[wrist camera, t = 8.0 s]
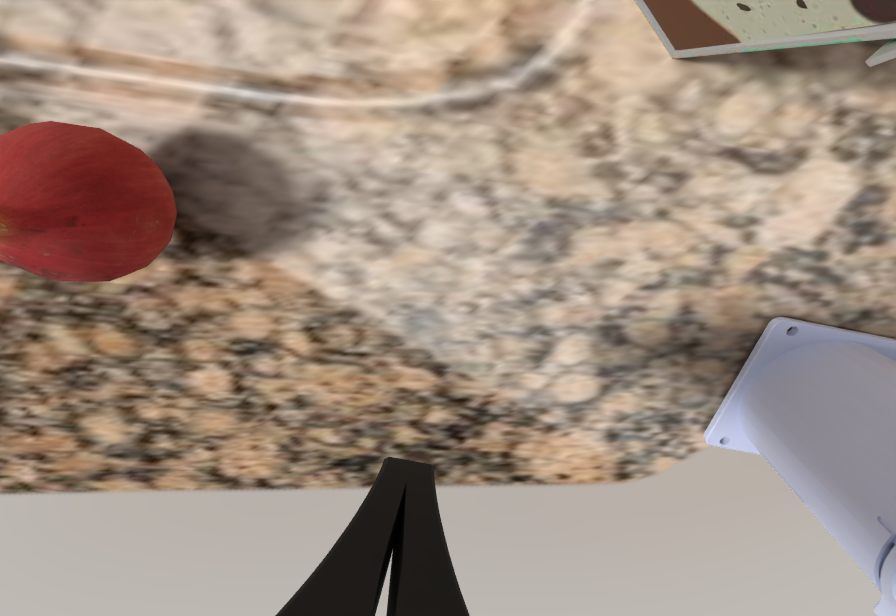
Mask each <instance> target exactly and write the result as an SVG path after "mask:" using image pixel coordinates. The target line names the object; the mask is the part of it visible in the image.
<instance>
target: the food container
mask: <svg viewBox="0 0 896 616" xmlns="http://www.w3.org/2000/svg"><path fill="white" fill-rule="evenodd" d="M635 2H636V3H637V5H638V6H639V8H640V10H641V11H642V13H643V14H644V16H645V17H646V19H647V20H648V22H649V23H650V25H651V26H652V28H653V29H654V31H655V32H656V34H657V36H658V37H659V39H660V40H661V42H662V43H663V45H664V46H665V48H666V49H667V51H668V52H669V54H670V55H671V57H672V59H675V58H686V57H697V56H708V55H718V54H729V53H740V52H751V51H762V50H773V49H783V48H794V47H805V46H816V45H827V44H837V43H848V42H859V41H870V40H881V39H890V40H889V41H888V42H887V43H886V44H884V45H883V46H882V47H881V48H880V49H879V50H877V51H876V52H875V53H874V54H873V55H872V56H871V57H869V58H868V59H867V60H866V61H865V62H866V63H867V65H868V66H869V67H871V66H874V65H877V64H880V63H883V62H885V61H888V60H891V59H894V58H896V0H635Z"/></svg>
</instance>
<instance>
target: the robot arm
mask: <svg viewBox="0 0 896 616" xmlns="http://www.w3.org/2000/svg"><path fill="white" fill-rule="evenodd" d="M790 327H792V329H791V330H790V331H788V332H787V330H788V329H789V328H790ZM703 437H704V440H705V441H706V442H707V443H708V444H709V445H711V446H716V447H722V448H727V449H733V450H738V451H743V452H749V453H754V454H760V455H762V456H763V457H764V458H765V459H766V460H767V461H768V463H769V464H770V465H771V466H772V467H773V468H774V470H775V471H776V472H777V473H778V474H779V475H780V476H781V478H783V480H784V481H785V482H786V483H787V484H788V486H789V487H790V488H791V489H792V490H793V491H794V492H795V494H796V495H797V496H798V497H799V498H800V499H801V500H802V502H803V503H804V504H805V505H806V506H807V508H808V509H809V510H810V511H811V512H812V513H813V514H814V515H815V517H816V518H817V519H818V520H819V521H820V522H821V524H822V525H823V526H824V527H825V528H826V529H827V531H828V532H829V533H830V534H831V535H832V536H833V537H834V539H835V540H836V541H837V542H838V543H839V544H840V546H841V547H842V548H843V549H844V550H845V551H846V552H847V554H848V555H849V556H850V557H851V558H852V559H853V561H854V562H855V563H856V564H857V565H858V566H859V567H860V569H861V570H862V571H863V572H864V573H865V574H866V575H867V577H868V578H869V579H870V580H871V581H872V582H873V583H874V585H875V586H876V587H877V588H878V589H879V590H880V592H881V593H882V597H881V599H880V601H879V603H878V604H877V605H876V606H875V607H874V609H873V611H874V612H875V614H876V615H877V616H896V339H892V338H887V337H882V336H877V335H872V334H867V333H862V332H856V331H851V330H846V329H841V328H836V327H831V326H826V325H821V324H816V323H811V322H806V321H801V320H796V319H791V318H786V317H777V318H774V319H773V320H771V321H770V322H769V324H768V325H767V327H766V328H765V330H764V332H763V334H762V335H761V337H760V339H759V340H758V342H757V344H756V346H755V347H754V349H753V351H752V352H751V354H750V356H749V357H748V359H747V361H746V363H745V364H744V366H743V368H742V369H741V371H740V373H739V375H738V376H737V378H736V380H735V381H734V383H733V385H732V387H731V388H730V390H729V392H728V393H727V395H726V397H725V398H724V400H723V402H722V404H721V405H720V407H719V409H718V410H717V412H716V414H715V416H714V417H713V419H712V421H711V422H710V424H709V426H708V428H707V429H706V431H705V433H704V435H703ZM724 437H725V438H724ZM722 438H724V439H722ZM392 550H393V554H392ZM391 554H392V564H391V575H390V585H389V595H388V606H387V616H469V613H468V610H467V607H466V605H465V602H464V599H463V596H462V594H461V591H460V588H459V585H458V582H457V578H456V575H455V572H454V569H453V565H452V562H451V558H450V555H449V552H448V548H447V544H446V540H445V536H444V532H443V527H442V523H441V518H440V514H439V508H438V502H437V496H436V489H435V479H434V467H433V466H432V465H431V464H426V463H420V462H415V461H409V460H404V459H398V458H392V457H388V458H386V459H384V462H383V465H382V467H381V470H380V472H379V474H378V476H377V478H376V480H375V482H374V484H373V486H372V488H371V489H370V491H369V493H368V495H367V496H366V498H365V500H364V501H363V503H362V505H361V506H360V508H359V510H358V511H357V513H356V514H355V516H354V517H353V519H352V521H351V522H350V523H349V525H348V527H347V528H346V529H345V531H344V532H343V533H342V535H341V536H340V538H339V539H338V540H337V542H336V543H335V545H334V546H333V547H332V549H331V550H330V551H329V553H328V554H327V556H326V557H325V558H324V559H323V561H322V562H321V563H320V564H319V566H318V567H317V568H316V569H315V571H314V572H313V573H312V574H311V576H310V577H309V578H308V579H307V580H306V582H305V583H304V584H303V585H302V586H301V588H300V589H299V590H298V591H297V592H296V593H295V595H294V596H293V597H292V598H291V599H290V600H289V601H288V602H287V604H286V605H285V606H284V607H283V608H282V609H281V610H280V611H279V613H278V614H277V615H276V616H375V613H376V610H377V606H378V602H379V599H380V595H381V591H382V587H383V584H384V580H385V576H386V572H387V569H388V565H389V562H390V558H391Z"/></svg>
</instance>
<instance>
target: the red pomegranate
mask: <svg viewBox="0 0 896 616" xmlns="http://www.w3.org/2000/svg"><path fill="white" fill-rule="evenodd" d="M176 216H177V210H176V204H175V199H174V194H173V191H172V189H171V187H170V185H169V183H168V182H167V180H166V178H165V176H164V175H163V173H162V171H161V169H160V168H159V167H158V166H157V165H156V164H155V163H154V162H153V161H152V160H151V159H150V158H149V157H148V156H147V155H146V154H145V153H144V152H143V151H142V150H140V149H138V148H137V147H135V146H133V145H131V144H129V143H127V142H125V141H123V140H122V139H120V138H118V137H116V136H114V135H112V134H110V133H108V132H106V131H104V130H102V129H100V128H93V127H86V126H80V125H73V124H66V123H60V122H53V121H48V122H41V123H33V124H28V125H26V126H23V127H21V128H18V129H15V130H13V131H10V132H8V133H5V134H3V135H0V260H2V261H4V262H6V263H8V264H11V265H13V266H16V267H18V268H21V269H23V270H26V271H28V272H31V273H33V274H36V275H39V276H41V277H44V278H47V279H51V280H58V281H86V282H100V281H111V280H114V279H117V278H120V277H123V276H125V275H127V274H130V273H132V272H135V271H137V270H139V269H142V268H144V267H146V266H148V265H149V264H150V263H151V262H152V261H153V260H154V259H155V258H156V257H157V256H158V255H159V254H160V253H161V251H162V250H163V249H164V248H165V247H166V246H167V244H168V243H169V242H170V241H171V237H172V233H173V229H174V224H175V220H176Z"/></svg>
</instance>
